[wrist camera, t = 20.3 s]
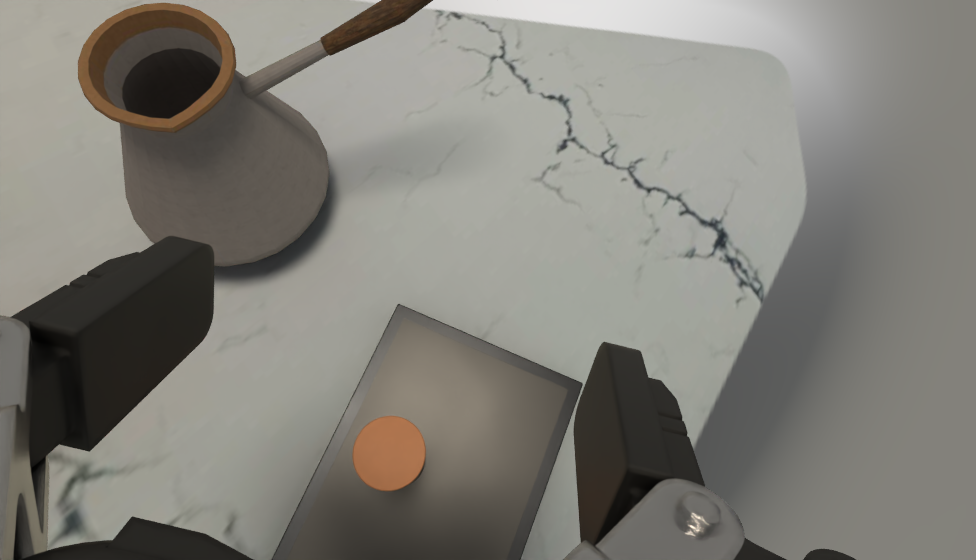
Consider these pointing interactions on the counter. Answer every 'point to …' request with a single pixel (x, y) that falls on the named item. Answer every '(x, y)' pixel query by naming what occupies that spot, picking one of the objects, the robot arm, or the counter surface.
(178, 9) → the coffee pot
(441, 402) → the tablet
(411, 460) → the stylus
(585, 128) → the counter surface
